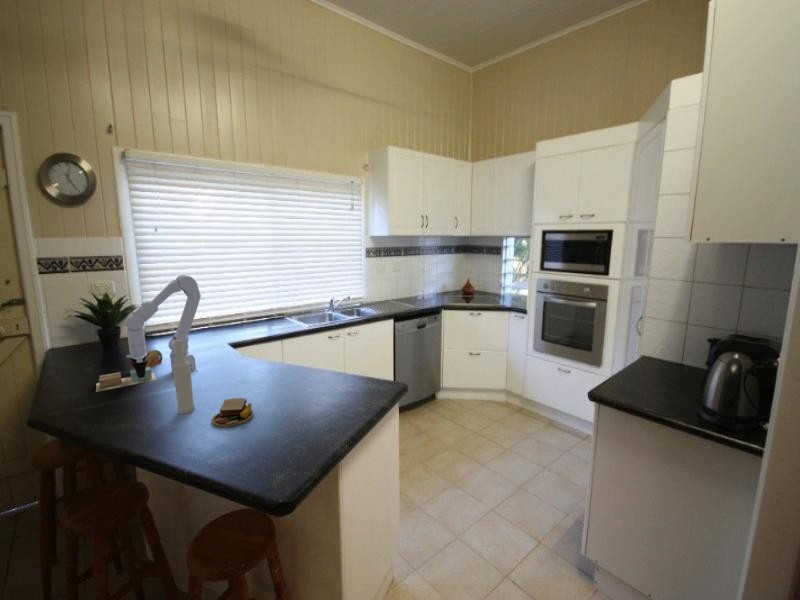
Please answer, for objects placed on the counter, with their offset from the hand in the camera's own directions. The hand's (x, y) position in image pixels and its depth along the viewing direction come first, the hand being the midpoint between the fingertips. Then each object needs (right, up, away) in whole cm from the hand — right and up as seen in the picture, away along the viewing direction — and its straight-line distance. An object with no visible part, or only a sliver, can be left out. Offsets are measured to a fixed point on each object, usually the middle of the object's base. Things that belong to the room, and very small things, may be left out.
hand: (140, 375), depth 160 cm
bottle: (+37, -7, -30) cm, 48 cm away
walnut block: (-9, -3, -5) cm, 10 cm away
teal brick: (0, -2, 0) cm, 2 cm away
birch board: (-4, -3, -2) cm, 6 cm away
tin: (-8, -1, +16) cm, 18 cm away
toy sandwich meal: (+55, -7, -36) cm, 66 cm away
